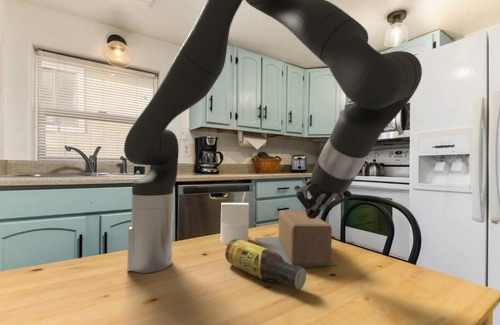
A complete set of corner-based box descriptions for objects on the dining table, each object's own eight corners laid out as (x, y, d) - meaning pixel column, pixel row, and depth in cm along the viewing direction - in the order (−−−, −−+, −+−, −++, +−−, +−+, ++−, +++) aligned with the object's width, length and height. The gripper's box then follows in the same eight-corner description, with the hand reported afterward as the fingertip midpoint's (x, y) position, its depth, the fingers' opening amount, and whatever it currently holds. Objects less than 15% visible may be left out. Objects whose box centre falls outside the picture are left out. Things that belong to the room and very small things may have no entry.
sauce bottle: (222, 242, 58) (289, 266, 44) (241, 234, 63) (308, 253, 48) (224, 269, 59) (292, 301, 44) (243, 259, 63) (310, 285, 49)
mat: (274, 268, 58) (274, 267, 58) (254, 238, 81) (254, 237, 81) (336, 265, 61) (336, 263, 61) (300, 237, 84) (300, 236, 84)
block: (333, 225, 59) (309, 210, 79) (292, 225, 58) (278, 209, 78) (332, 266, 59) (308, 241, 79) (291, 266, 58) (278, 241, 78)
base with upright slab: (247, 236, 84) (248, 201, 84) (248, 245, 75) (249, 206, 75) (221, 236, 83) (222, 201, 84) (219, 245, 74) (220, 205, 75)
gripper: (362, 150, 49) (330, 202, 61) (300, 148, 47) (280, 202, 59) (380, 178, 44) (342, 228, 56) (311, 177, 42) (287, 230, 54)
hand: (310, 215), depth 57 cm, fingers closed
